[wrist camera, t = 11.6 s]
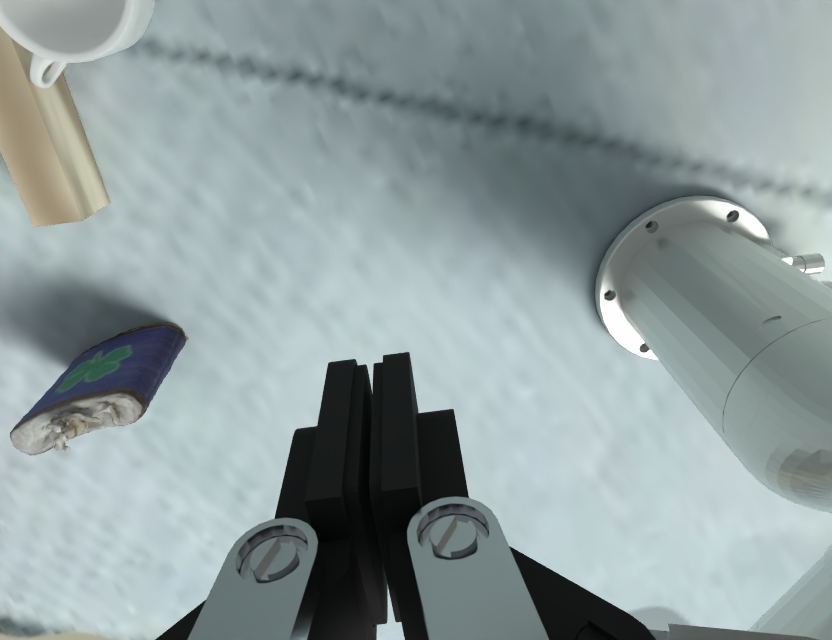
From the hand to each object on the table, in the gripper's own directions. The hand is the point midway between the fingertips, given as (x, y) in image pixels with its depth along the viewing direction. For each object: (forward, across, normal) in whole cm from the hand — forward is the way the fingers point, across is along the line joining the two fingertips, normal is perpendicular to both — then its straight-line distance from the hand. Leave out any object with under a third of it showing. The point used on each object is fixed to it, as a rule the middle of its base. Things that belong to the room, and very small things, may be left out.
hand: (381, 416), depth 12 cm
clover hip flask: (+29, +21, +12) cm, 38 cm away
